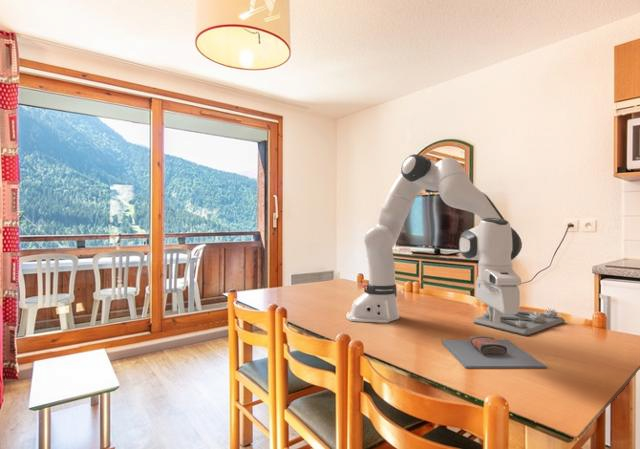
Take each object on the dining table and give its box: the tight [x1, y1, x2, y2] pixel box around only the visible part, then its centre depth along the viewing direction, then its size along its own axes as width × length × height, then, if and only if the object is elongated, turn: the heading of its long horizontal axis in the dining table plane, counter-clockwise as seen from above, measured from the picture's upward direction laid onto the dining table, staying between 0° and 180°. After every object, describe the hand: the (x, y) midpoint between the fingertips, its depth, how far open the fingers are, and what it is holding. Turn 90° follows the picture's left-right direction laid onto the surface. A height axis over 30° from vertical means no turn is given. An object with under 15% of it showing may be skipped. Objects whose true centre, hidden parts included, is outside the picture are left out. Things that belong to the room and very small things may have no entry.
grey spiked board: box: [472, 307, 566, 337], centre depth 142 cm, size 30×22×7 cm
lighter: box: [469, 335, 507, 355], centre depth 112 cm, size 8×3×10 cm
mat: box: [440, 339, 547, 369], centre depth 110 cm, size 22×22×1 cm
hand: (494, 322), depth 104 cm, fingers closed
